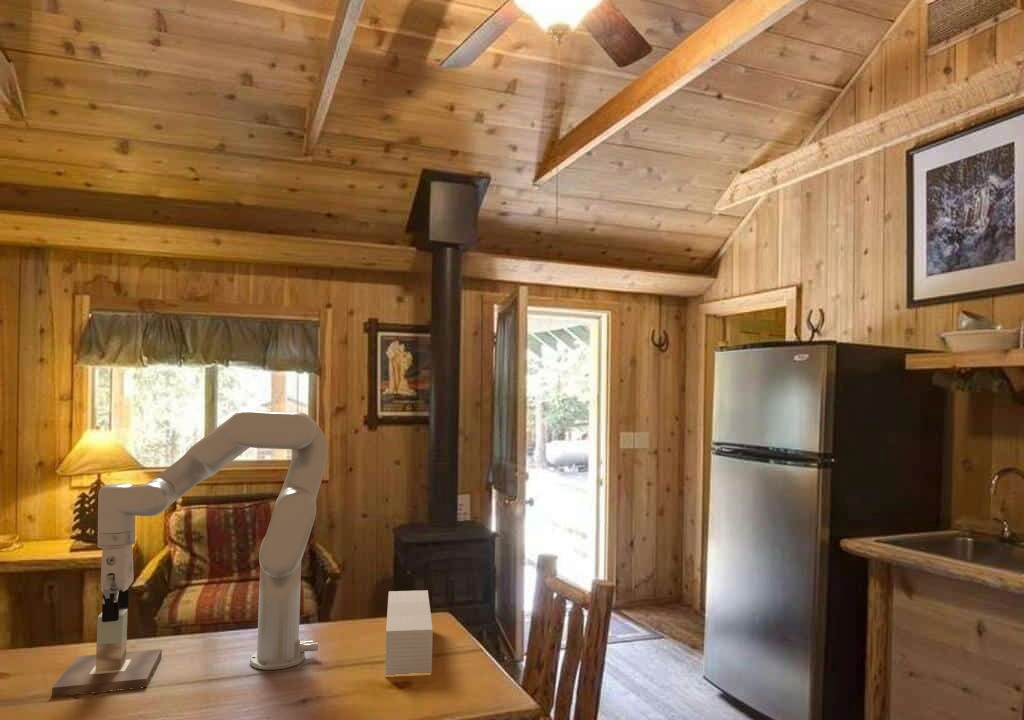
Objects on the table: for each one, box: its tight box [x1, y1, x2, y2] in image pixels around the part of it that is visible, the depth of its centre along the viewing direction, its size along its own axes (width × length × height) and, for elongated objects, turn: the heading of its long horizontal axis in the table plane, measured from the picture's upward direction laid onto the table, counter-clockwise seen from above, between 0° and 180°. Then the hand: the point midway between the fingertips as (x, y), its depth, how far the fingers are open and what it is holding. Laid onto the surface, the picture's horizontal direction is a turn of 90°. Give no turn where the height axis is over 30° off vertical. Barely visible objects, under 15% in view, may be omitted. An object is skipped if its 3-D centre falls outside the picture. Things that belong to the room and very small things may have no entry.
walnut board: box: [51, 648, 163, 698], centre depth 159 cm, size 18×18×2 cm
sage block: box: [96, 608, 129, 646], centre depth 159 cm, size 5×5×6 cm
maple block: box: [95, 635, 128, 672], centre depth 159 cm, size 5×5×6 cm
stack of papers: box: [384, 589, 434, 676], centre depth 177 cm, size 32×11×11 cm, turn 9°
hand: (115, 614), depth 159 cm, fingers open, 9 cm apart
